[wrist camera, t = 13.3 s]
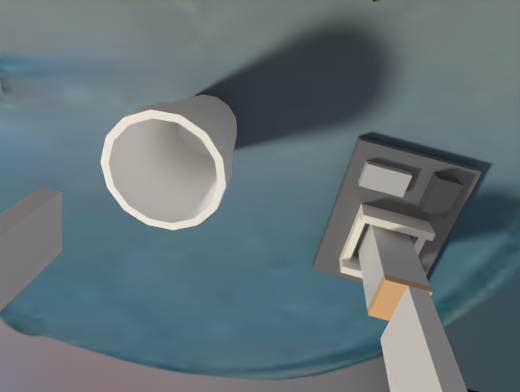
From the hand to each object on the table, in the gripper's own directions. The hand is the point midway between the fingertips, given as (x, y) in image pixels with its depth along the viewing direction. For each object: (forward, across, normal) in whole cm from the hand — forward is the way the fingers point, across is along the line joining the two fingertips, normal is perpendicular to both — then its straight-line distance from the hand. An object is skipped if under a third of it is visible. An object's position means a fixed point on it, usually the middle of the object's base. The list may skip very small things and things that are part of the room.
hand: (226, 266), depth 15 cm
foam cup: (+27, -7, -4) cm, 28 cm away
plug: (+26, +14, -11) cm, 31 cm away
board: (+27, +14, -9) cm, 31 cm away
